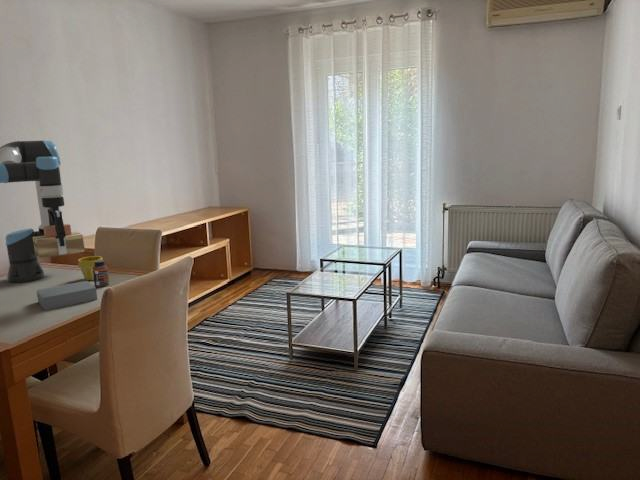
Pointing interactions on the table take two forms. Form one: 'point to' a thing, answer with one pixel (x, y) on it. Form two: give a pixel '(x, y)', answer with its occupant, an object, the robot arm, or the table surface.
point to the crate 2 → (67, 229)
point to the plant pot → (88, 266)
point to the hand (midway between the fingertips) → (60, 252)
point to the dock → (66, 295)
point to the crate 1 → (49, 231)
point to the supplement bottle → (100, 274)
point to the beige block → (50, 247)
